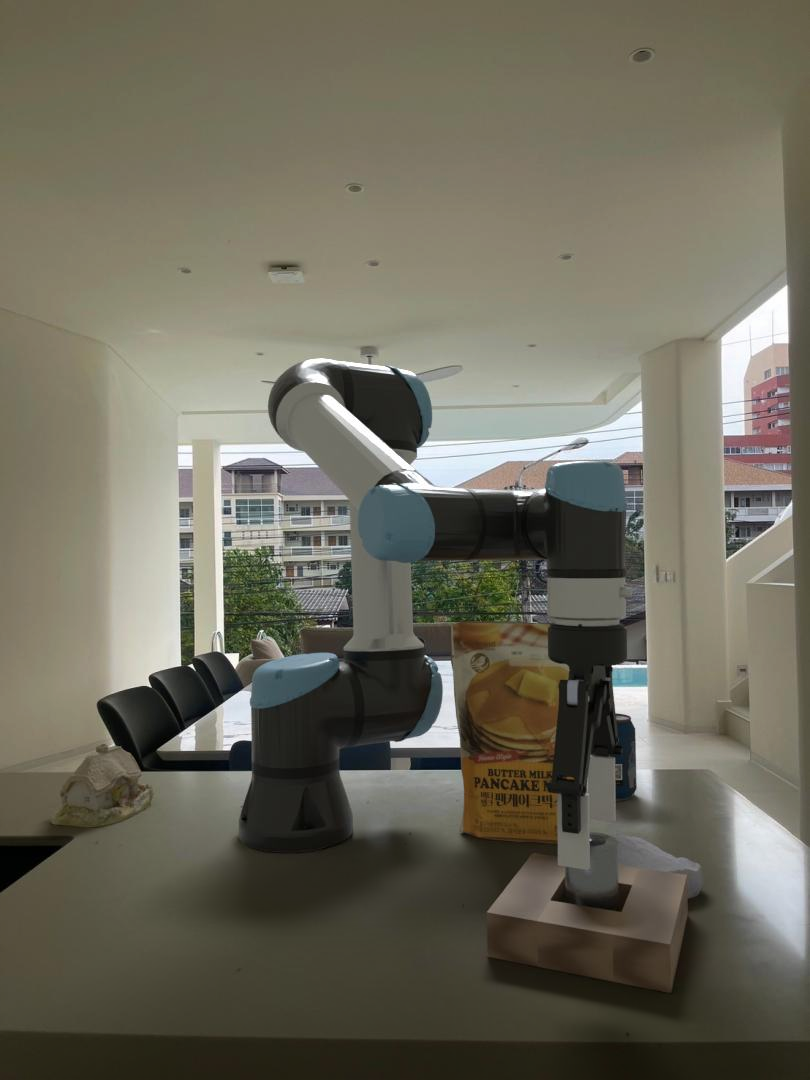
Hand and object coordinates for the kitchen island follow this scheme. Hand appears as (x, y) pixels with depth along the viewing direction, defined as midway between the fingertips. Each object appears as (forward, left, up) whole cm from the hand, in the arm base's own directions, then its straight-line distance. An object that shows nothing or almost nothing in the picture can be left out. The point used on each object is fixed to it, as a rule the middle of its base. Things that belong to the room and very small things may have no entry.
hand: (589, 841), depth 78 cm
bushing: (0, 0, -9) cm, 9 cm away
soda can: (-6, +47, -9) cm, 48 cm away
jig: (0, 0, -9) cm, 9 cm away
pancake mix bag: (-14, +25, -9) cm, 30 cm away
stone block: (+3, +15, -9) cm, 18 cm away
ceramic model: (-73, +11, -9) cm, 74 cm away
